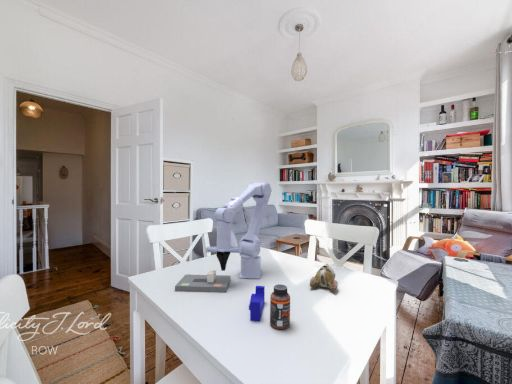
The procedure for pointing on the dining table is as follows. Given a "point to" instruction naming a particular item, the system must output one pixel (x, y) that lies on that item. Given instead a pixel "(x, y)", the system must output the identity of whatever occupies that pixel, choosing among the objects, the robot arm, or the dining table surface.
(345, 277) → the dining table surface
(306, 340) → the dining table surface
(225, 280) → the switch panel
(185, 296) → the dining table surface
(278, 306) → the supplement bottle
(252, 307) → the blue stepped block
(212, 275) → the knob
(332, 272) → the ceramic sculpture
